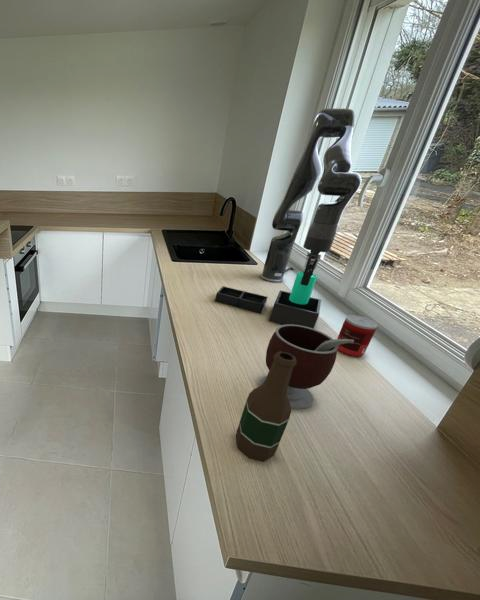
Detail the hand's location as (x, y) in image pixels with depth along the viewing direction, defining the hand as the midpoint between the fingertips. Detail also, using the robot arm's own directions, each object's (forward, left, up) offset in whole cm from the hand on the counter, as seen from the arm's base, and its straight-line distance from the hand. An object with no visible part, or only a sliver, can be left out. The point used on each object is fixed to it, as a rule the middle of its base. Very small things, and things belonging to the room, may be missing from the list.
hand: (304, 281), depth 115 cm
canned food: (+13, +17, -15) cm, 26 cm away
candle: (0, 0, -8) cm, 8 cm away
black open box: (0, 0, -15) cm, 15 cm away
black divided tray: (-2, -19, -15) cm, 25 cm away
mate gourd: (+48, +4, -15) cm, 51 cm away
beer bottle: (+72, 0, -16) cm, 74 cm away
